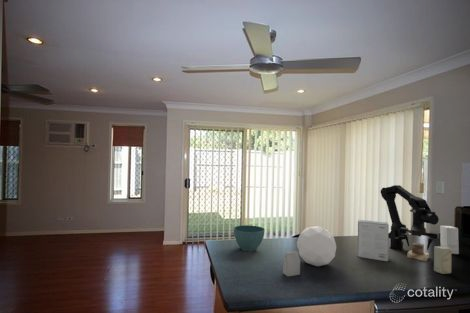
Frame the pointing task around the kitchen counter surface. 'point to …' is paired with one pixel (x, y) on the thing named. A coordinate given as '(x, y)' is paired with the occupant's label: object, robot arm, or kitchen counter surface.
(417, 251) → the wooden cube
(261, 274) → the kitchen counter surface
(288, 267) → the grey upright block
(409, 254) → the oak block
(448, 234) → the skincare box
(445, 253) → the skincare box
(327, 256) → the ball
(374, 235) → the hard drive box
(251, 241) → the plant pot
